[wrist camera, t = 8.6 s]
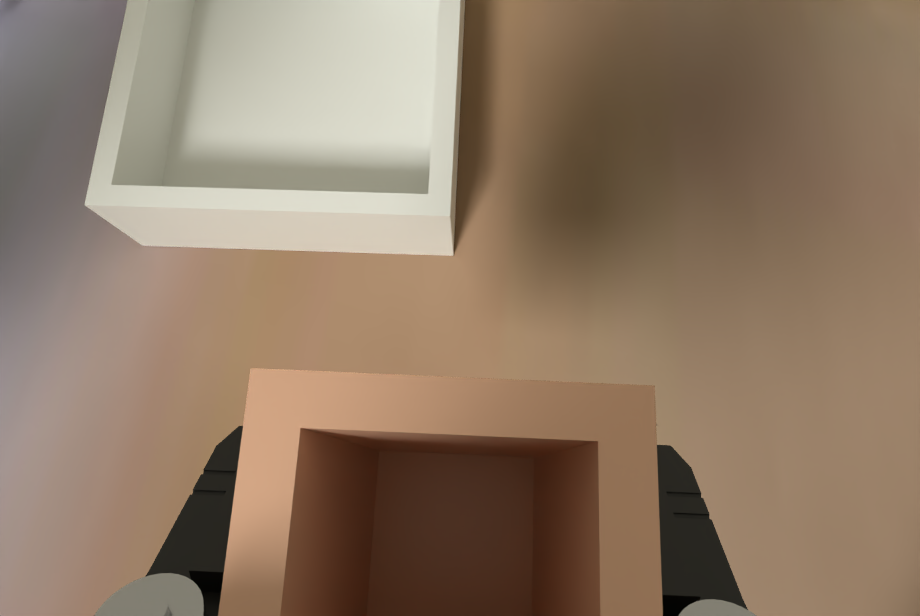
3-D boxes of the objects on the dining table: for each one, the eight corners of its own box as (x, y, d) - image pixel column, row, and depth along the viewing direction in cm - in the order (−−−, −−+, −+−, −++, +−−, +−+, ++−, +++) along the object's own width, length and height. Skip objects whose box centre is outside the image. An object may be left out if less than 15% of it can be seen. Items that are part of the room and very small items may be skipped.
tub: (338, 644, 14) (187, 845, 6) (357, 421, 16) (250, 368, 8) (558, 655, 14) (672, 872, 6) (559, 430, 15) (654, 385, 8)
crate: (142, 245, 32) (84, 205, 27) (189, -14, 36) (146, -89, 31) (453, 255, 32) (450, 216, 27) (465, -8, 36) (464, -84, 31)
